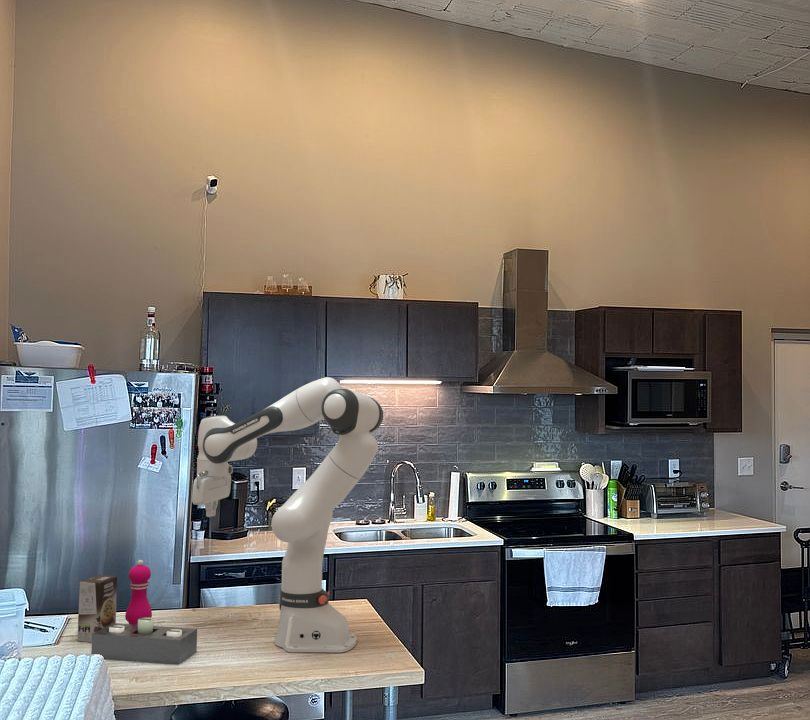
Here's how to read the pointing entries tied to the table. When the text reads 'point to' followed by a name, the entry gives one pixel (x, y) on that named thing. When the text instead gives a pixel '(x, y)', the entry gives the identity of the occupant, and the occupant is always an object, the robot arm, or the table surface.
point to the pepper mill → (139, 594)
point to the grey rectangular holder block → (145, 644)
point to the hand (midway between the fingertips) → (210, 516)
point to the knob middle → (145, 626)
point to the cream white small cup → (174, 632)
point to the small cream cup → (116, 628)
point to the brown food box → (96, 605)
